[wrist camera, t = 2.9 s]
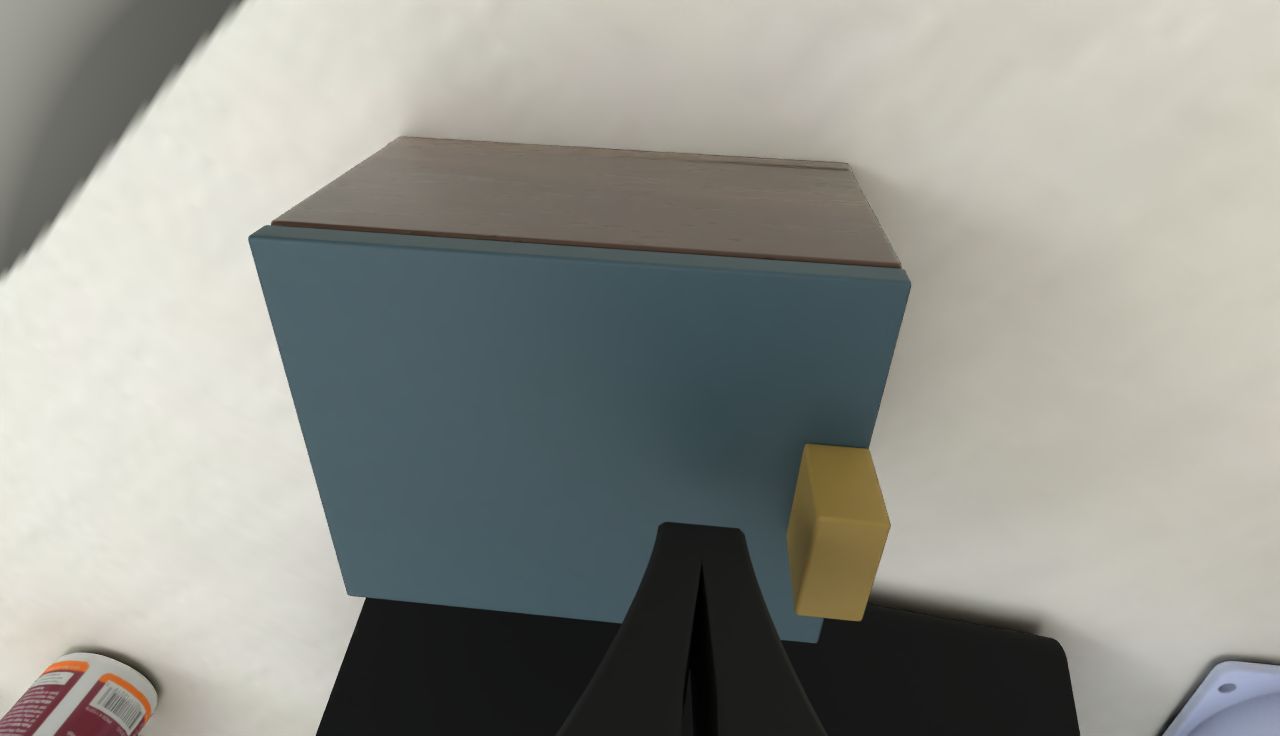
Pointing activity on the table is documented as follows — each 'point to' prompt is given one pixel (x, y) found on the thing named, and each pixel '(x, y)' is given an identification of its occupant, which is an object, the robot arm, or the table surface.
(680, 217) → the brown wooden box
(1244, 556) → the table surface
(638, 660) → the robot arm
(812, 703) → the device stand
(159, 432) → the table surface
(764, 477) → the blue-grey slab
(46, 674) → the pill bottle
